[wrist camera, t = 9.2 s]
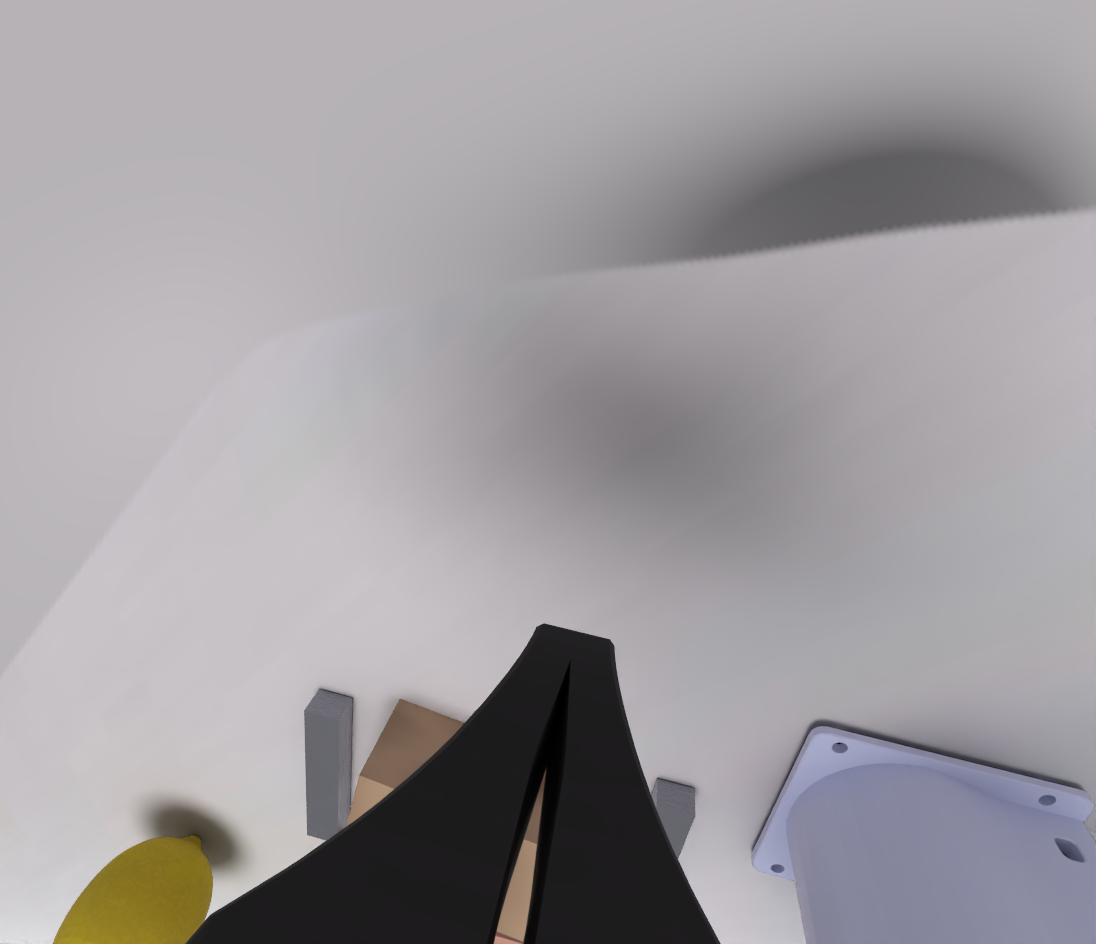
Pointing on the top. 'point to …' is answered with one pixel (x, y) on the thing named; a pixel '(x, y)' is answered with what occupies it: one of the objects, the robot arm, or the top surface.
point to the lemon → (144, 896)
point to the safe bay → (333, 775)
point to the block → (406, 750)
